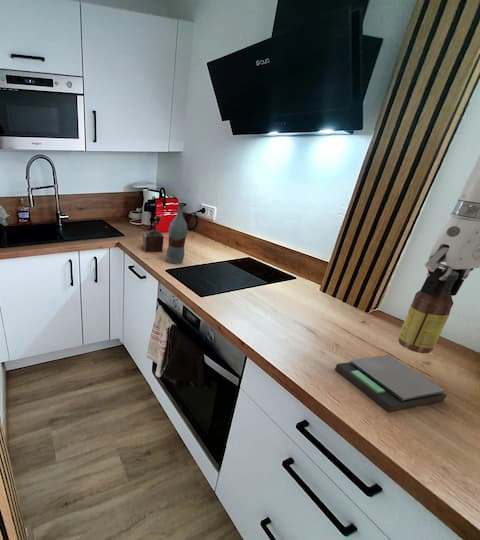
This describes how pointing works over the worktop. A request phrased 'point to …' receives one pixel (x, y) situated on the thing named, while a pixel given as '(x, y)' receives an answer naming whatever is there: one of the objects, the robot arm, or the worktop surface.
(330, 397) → the worktop surface
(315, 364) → the worktop surface
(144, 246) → the pepper mill
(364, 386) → the scale
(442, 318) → the sauce bottle
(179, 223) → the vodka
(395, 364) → the scale pan
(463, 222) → the robot arm
